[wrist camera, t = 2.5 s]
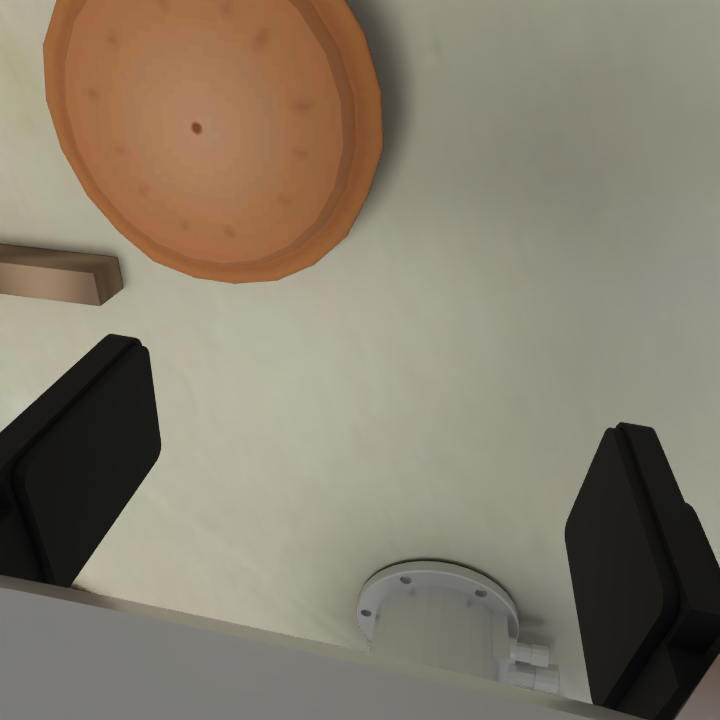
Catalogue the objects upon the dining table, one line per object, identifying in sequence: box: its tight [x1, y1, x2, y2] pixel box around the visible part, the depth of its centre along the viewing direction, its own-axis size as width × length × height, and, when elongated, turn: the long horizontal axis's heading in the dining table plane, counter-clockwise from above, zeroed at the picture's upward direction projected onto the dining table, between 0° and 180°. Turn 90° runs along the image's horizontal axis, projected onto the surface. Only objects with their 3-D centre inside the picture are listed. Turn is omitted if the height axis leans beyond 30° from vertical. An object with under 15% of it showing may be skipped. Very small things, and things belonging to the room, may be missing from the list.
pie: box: [43, 0, 384, 284], centre depth 26 cm, size 15×16×5 cm
